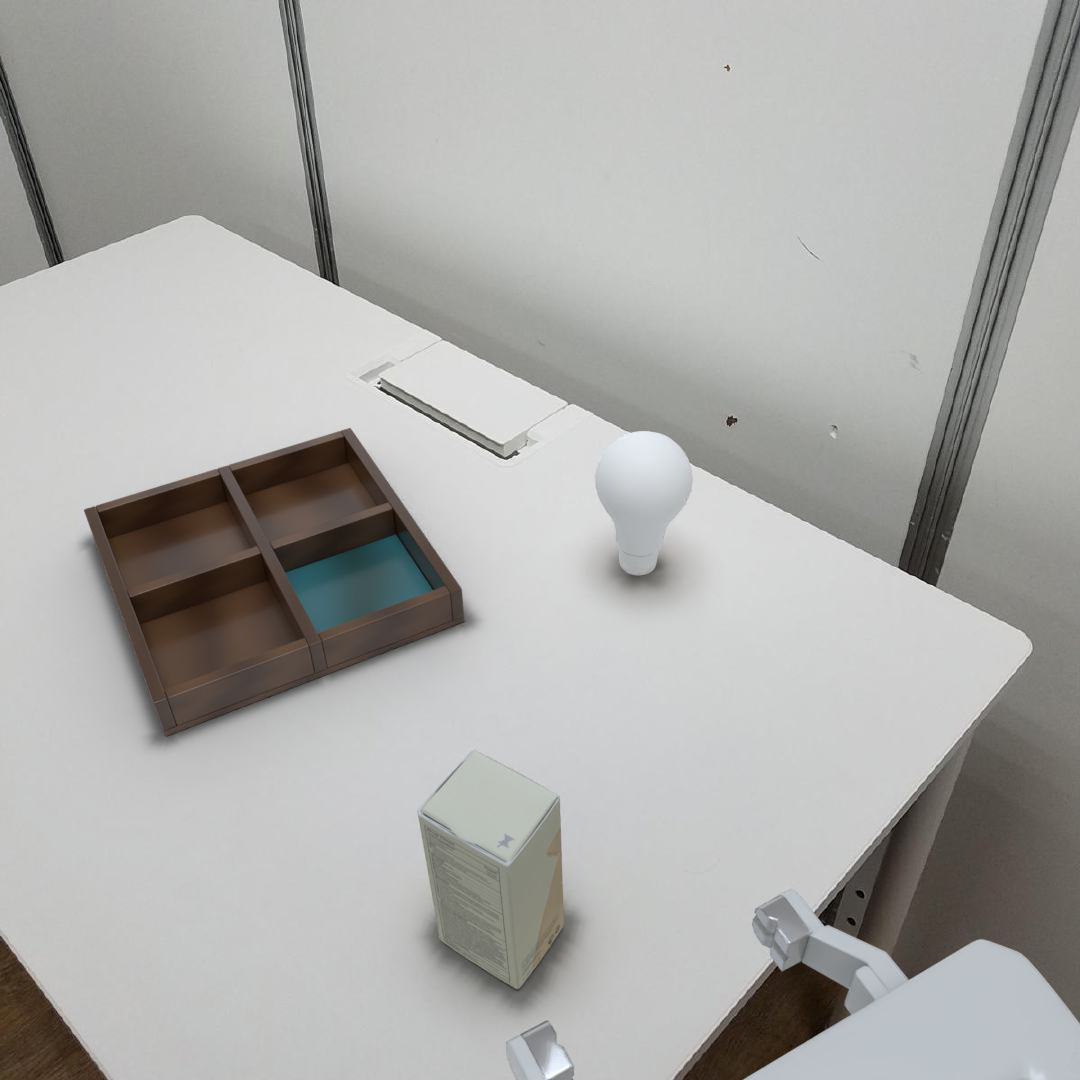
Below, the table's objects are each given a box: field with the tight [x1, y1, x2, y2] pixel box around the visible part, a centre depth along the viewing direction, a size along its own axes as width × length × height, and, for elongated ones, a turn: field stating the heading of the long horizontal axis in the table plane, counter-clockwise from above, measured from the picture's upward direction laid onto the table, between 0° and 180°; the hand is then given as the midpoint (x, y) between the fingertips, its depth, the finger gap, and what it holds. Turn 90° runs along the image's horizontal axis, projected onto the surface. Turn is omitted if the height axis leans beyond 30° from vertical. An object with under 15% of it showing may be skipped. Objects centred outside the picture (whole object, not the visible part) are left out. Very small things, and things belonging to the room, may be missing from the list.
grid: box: [83, 427, 465, 737], centre depth 74 cm, size 19×19×3 cm
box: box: [416, 749, 565, 990], centre depth 52 cm, size 5×4×11 cm
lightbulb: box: [594, 430, 694, 577], centre depth 72 cm, size 6×6×11 cm
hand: (653, 969), depth 37 cm, fingers open, 8 cm apart
